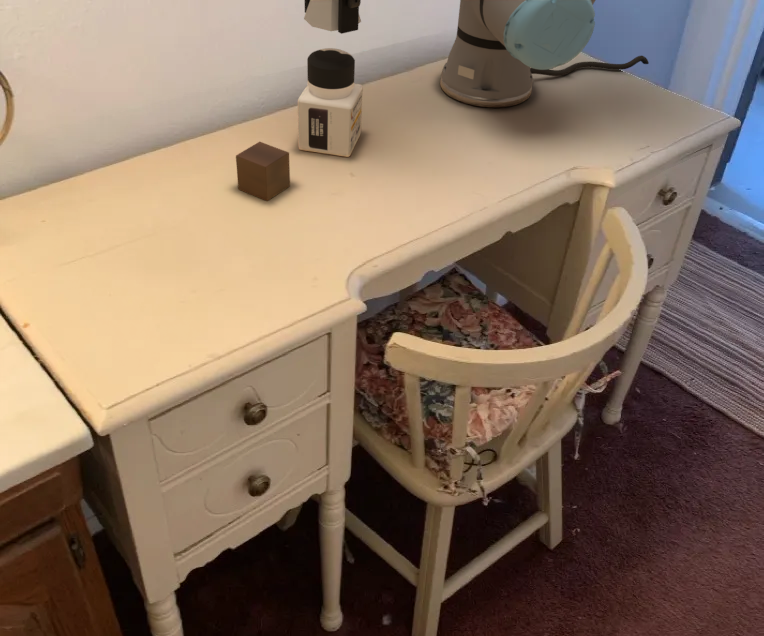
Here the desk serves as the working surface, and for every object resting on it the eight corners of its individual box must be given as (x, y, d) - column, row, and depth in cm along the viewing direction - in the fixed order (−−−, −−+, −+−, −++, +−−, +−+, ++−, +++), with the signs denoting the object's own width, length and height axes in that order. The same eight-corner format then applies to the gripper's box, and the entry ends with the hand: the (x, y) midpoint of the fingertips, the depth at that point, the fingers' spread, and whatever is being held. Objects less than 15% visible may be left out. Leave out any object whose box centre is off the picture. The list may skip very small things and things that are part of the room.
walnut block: (261, 174, 115) (259, 141, 112) (290, 186, 114) (289, 152, 110) (238, 189, 112) (235, 155, 109) (267, 201, 111) (265, 167, 107)
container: (349, 158, 120) (352, 68, 111) (297, 150, 121) (296, 61, 112) (361, 134, 126) (364, 47, 117) (311, 126, 126) (311, 40, 117)
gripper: (258, -200, 99) (267, 2, 115) (358, -165, 88) (352, 52, 104) (311, -203, 103) (312, -7, 118) (413, -171, 92) (399, 41, 107)
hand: (330, 20), depth 111 cm, fingers closed on flask, 7 cm apart
